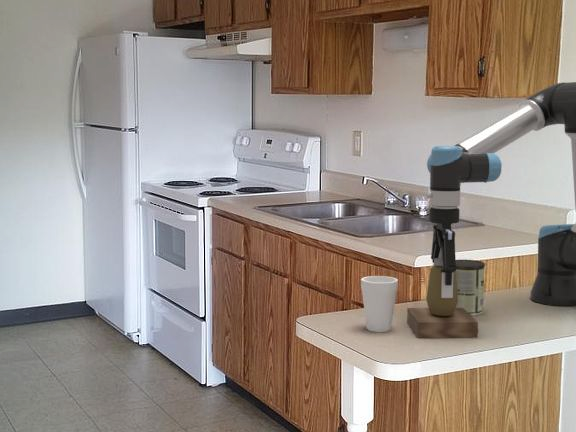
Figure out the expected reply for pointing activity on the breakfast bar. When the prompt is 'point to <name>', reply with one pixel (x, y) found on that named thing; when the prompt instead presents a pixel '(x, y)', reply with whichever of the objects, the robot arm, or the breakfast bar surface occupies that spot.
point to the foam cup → (379, 301)
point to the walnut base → (442, 324)
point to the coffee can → (470, 285)
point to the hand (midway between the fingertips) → (442, 292)
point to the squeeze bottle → (434, 291)
